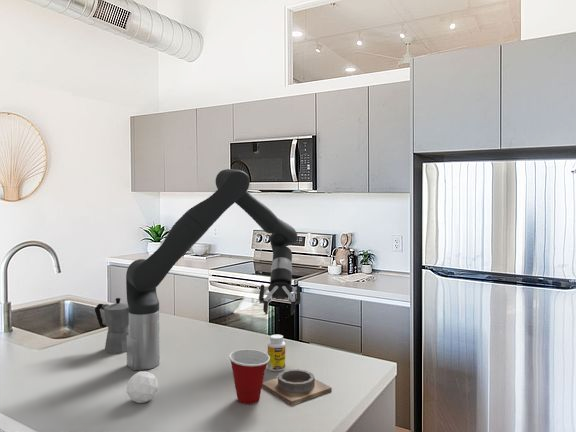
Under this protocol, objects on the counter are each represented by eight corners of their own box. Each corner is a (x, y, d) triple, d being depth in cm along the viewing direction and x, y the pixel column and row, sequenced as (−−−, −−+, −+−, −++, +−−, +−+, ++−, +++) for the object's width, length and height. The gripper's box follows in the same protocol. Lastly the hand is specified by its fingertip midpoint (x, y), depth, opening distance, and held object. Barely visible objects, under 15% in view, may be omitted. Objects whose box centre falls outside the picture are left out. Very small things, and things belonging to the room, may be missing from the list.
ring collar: (291, 405, 116) (291, 391, 116) (261, 386, 127) (261, 374, 127) (331, 391, 125) (331, 378, 124) (300, 374, 136) (300, 363, 136)
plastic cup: (264, 411, 113) (264, 364, 112) (223, 407, 115) (223, 360, 114) (274, 392, 123) (274, 349, 123) (236, 389, 125) (236, 346, 125)
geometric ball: (150, 411, 118) (161, 393, 114) (119, 405, 115) (129, 386, 111) (153, 387, 124) (164, 368, 121) (125, 380, 121) (134, 361, 118)
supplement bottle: (273, 373, 136) (273, 340, 136) (264, 367, 141) (264, 335, 141) (288, 369, 139) (289, 337, 139) (279, 363, 144) (279, 332, 144)
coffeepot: (142, 346, 160) (142, 295, 159) (128, 355, 150) (128, 302, 150) (103, 343, 163) (102, 293, 162) (87, 352, 153) (86, 299, 152)
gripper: (260, 266, 159) (256, 307, 148) (301, 267, 158) (300, 308, 147) (262, 278, 164) (258, 318, 153) (301, 279, 164) (300, 319, 153)
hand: (279, 313), depth 150 cm, fingers open, 8 cm apart
